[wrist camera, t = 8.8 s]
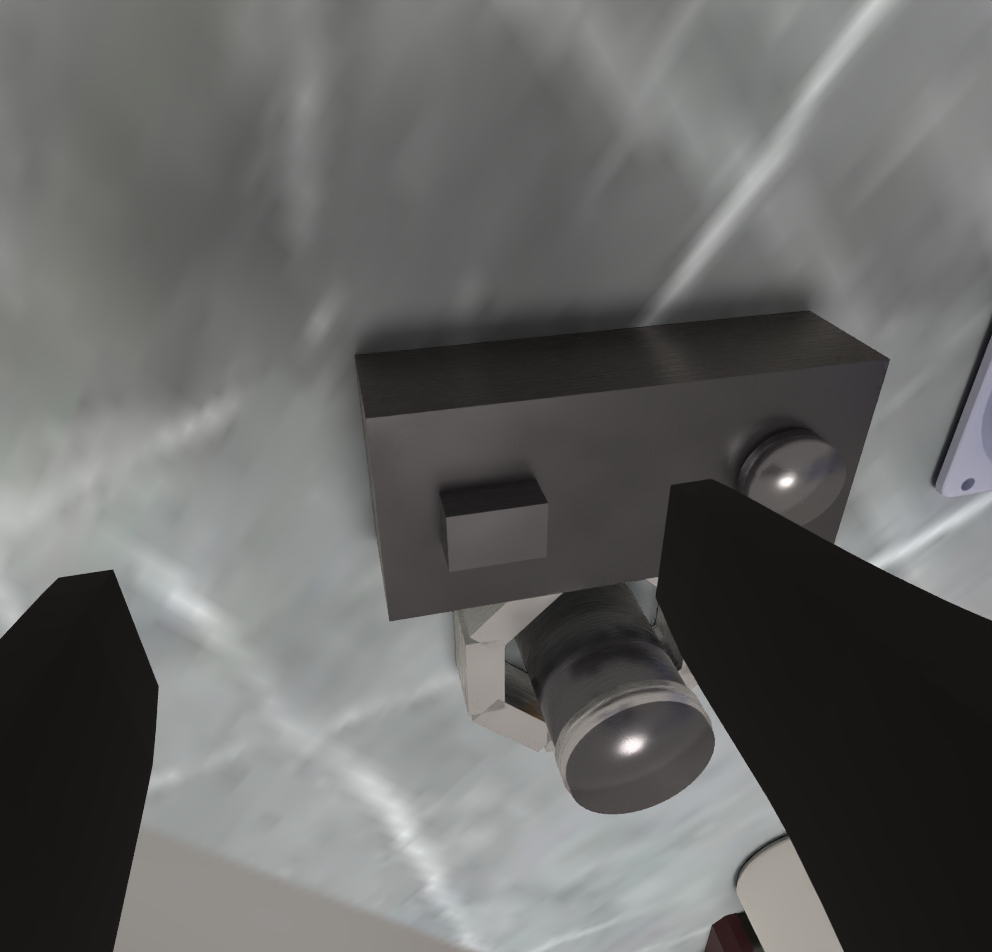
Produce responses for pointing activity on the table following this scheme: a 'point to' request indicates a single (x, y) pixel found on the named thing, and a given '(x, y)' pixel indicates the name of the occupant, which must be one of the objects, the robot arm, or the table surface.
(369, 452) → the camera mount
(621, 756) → the lens
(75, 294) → the table surface
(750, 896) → the can
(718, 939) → the toy gun
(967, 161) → the table surface
